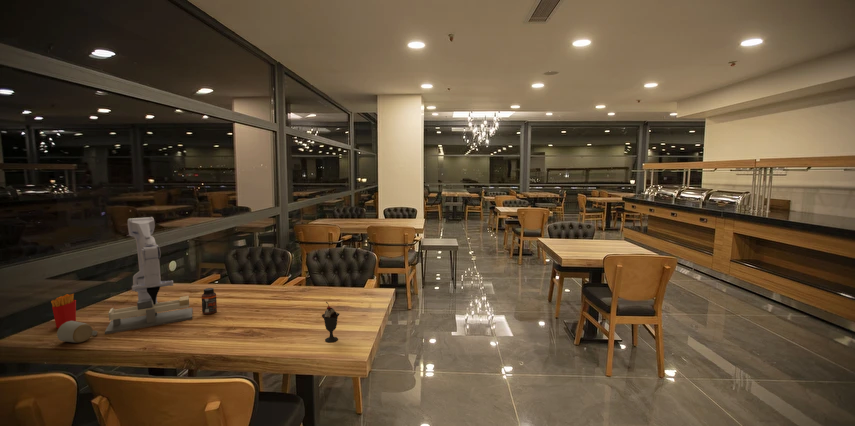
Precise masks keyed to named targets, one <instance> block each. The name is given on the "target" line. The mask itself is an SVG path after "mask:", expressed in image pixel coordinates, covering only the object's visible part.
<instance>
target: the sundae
mask: <svg viewBox="0 0 855 426" xmlns="http://www.w3.org/2000/svg"><path fill="white" fill-rule="evenodd" d="M325 303H326V304H327V307H326V310H325V311H324V313H322V314H321V317H322V319H323V321H324V326H325V329H326V330H327V331H328V332H329V337H326V338H325V339H324V342H326V343H335V342H337V341H339V338H338V337H337V336H334V334H333V332H334V331H335V330H336V329H337V326H338V317H339V316H340V313H339V312H337V311H336V310H335V309H334V308H333V307H331V306H330V305H329V303H328V302H327V301H325Z"/></svg>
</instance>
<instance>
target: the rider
mask: <svg viewBox="0 0 855 426" xmlns="http://www.w3.org/2000/svg"><path fill="white" fill-rule="evenodd" d="M136 303H137V304H136V306H137V307H138V310H140V309H146V308H153V301H152V298H150V299H144V300H138V299H137V302H136Z"/></svg>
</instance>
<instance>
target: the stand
mask: <svg viewBox="0 0 855 426" xmlns="http://www.w3.org/2000/svg"><path fill="white" fill-rule="evenodd" d="M190 320H193V307H187V308H181V309H175V310H169V311H163V312H157V313H155V309H150V310H146V314H145V315H139V316H133V317H127V318H121V319H115V320H110V322H109V324H108V325H107V327H106V329H105V330H104V335H107V334H114V333H118V332H119V333H120V332H126V331H132V330H137V329H142V328H149V327H154V326H160V325H164V324H171V323H172V324H173V323H178V322H184V321H190Z"/></svg>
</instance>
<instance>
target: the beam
mask: <svg viewBox="0 0 855 426" xmlns="http://www.w3.org/2000/svg"><path fill="white" fill-rule="evenodd" d="M186 308H190V295H184V296H179V299H174V300H168V301H161V302H157V303H156V304H154V305H153V308H146V309H140V310H138V307H137V305H136V306H135V305H134V306H129V307H123V308H122V307H121V308H117V309H115V307H110V310H109V312H108V321H111V320H115V319H124V318H130V317H136V316H142V315H146V310H150V309H155V313H161V312H168V311H174V310H180V309H186Z"/></svg>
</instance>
